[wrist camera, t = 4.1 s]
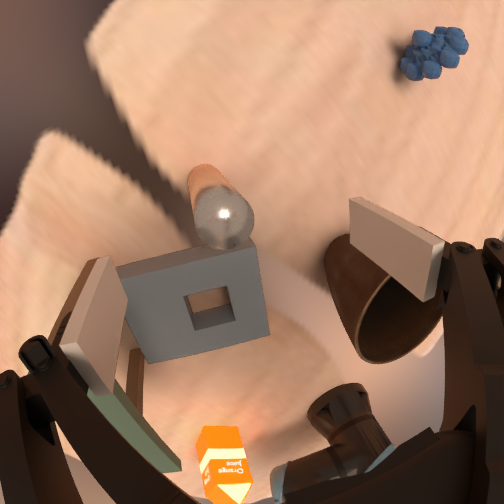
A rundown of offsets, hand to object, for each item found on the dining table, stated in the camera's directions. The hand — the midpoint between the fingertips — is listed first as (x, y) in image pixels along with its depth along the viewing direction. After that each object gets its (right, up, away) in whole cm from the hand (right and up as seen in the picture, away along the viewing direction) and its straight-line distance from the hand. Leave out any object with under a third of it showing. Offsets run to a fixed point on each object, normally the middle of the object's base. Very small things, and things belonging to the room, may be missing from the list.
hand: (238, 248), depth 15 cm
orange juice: (-7, -41, +41) cm, 58 cm away
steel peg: (-5, +8, +19) cm, 21 cm away
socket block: (-7, -6, +24) cm, 26 cm away
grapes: (+23, +30, +16) cm, 41 cm away
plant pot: (+15, -1, +28) cm, 32 cm away
